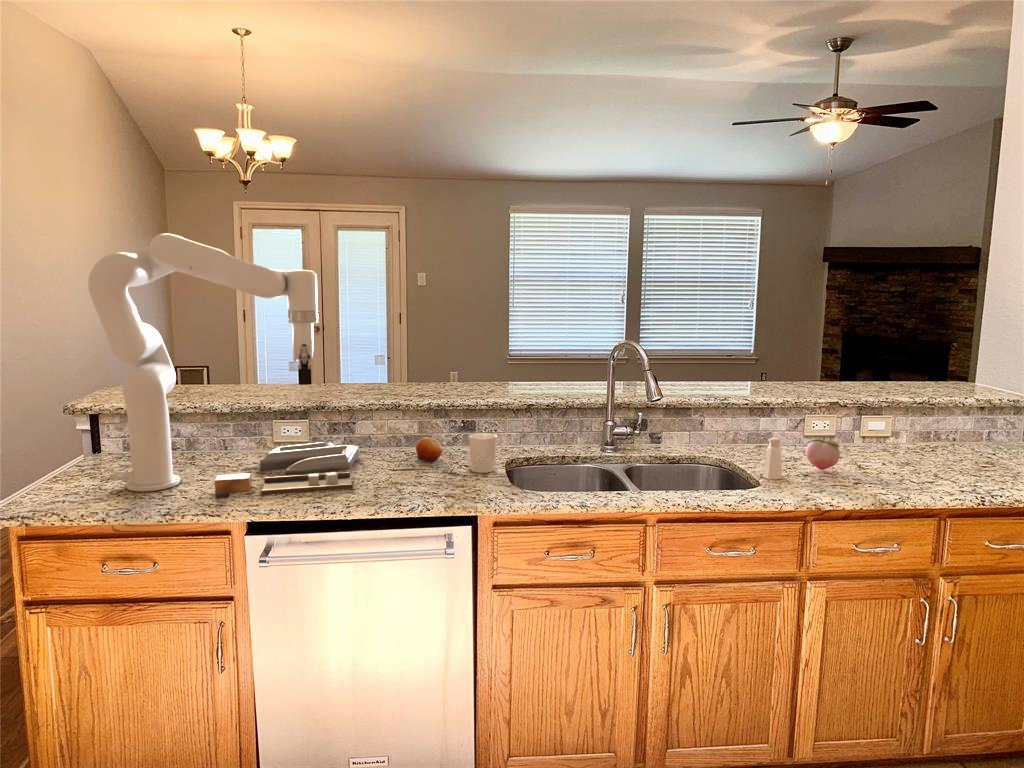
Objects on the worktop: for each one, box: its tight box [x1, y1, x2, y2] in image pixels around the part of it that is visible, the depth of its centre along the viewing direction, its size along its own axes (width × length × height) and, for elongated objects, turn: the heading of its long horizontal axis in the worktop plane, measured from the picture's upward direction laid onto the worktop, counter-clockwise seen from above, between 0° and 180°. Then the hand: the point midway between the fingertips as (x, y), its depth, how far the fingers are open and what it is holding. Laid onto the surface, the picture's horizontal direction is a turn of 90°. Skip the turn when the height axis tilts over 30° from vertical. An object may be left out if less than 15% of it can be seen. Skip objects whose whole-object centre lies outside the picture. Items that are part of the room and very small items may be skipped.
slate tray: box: [260, 471, 353, 496], centre depth 181 cm, size 22×12×2 cm, turn 106°
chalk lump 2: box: [324, 471, 338, 485], centre depth 183 cm, size 2×2×2 cm
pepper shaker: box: [762, 437, 783, 480], centre depth 196 cm, size 5×5×11 cm
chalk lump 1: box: [309, 473, 320, 486], centre depth 181 cm, size 2×2×2 cm
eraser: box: [214, 473, 252, 499], centre depth 176 cm, size 8×4×4 cm, turn 106°
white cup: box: [468, 432, 497, 474], centre depth 200 cm, size 8×8×10 cm
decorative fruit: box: [805, 436, 841, 471], centre depth 204 cm, size 9×8×10 cm
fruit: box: [415, 436, 443, 463], centre depth 210 cm, size 8×8×8 cm
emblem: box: [259, 441, 360, 476], centre depth 202 cm, size 28×5×28 cm
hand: (305, 381), depth 186 cm, fingers open, 9 cm apart
